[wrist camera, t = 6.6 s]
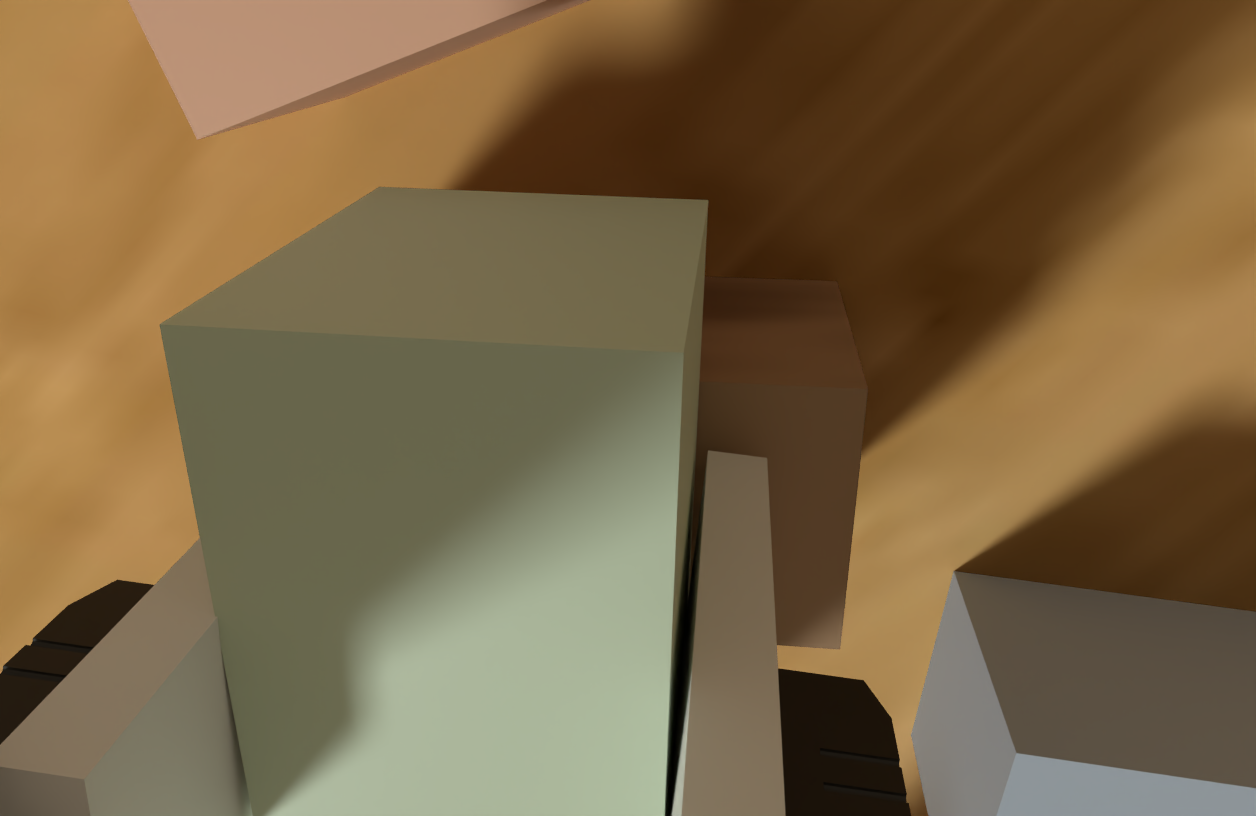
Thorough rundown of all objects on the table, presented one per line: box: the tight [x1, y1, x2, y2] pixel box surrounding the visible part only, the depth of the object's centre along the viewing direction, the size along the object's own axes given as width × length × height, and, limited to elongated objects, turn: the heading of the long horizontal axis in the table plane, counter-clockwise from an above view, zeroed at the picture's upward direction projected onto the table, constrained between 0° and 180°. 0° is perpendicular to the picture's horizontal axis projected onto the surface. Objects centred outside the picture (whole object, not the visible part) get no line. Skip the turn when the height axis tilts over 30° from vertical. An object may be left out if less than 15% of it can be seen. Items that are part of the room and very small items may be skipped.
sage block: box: [160, 187, 708, 816], centre depth 11 cm, size 8×4×5 cm, turn 179°
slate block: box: [911, 571, 1256, 816], centre depth 17 cm, size 8×4×5 cm, turn 85°
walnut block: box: [689, 276, 868, 649], centre depth 16 cm, size 8×4×5 cm, turn 90°
